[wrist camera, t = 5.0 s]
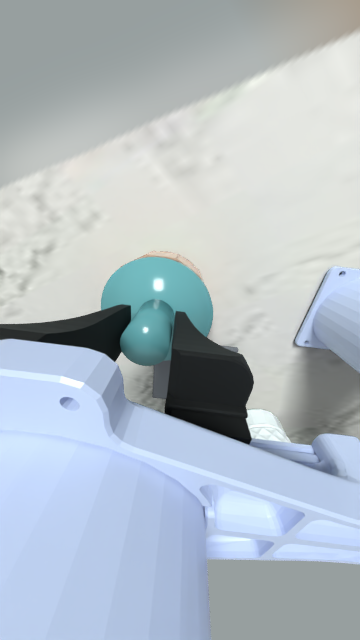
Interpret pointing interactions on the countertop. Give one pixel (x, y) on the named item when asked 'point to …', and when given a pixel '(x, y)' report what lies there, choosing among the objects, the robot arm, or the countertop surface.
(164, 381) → the mat
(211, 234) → the countertop surface
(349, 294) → the robot arm
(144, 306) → the lid
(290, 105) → the countertop surface
